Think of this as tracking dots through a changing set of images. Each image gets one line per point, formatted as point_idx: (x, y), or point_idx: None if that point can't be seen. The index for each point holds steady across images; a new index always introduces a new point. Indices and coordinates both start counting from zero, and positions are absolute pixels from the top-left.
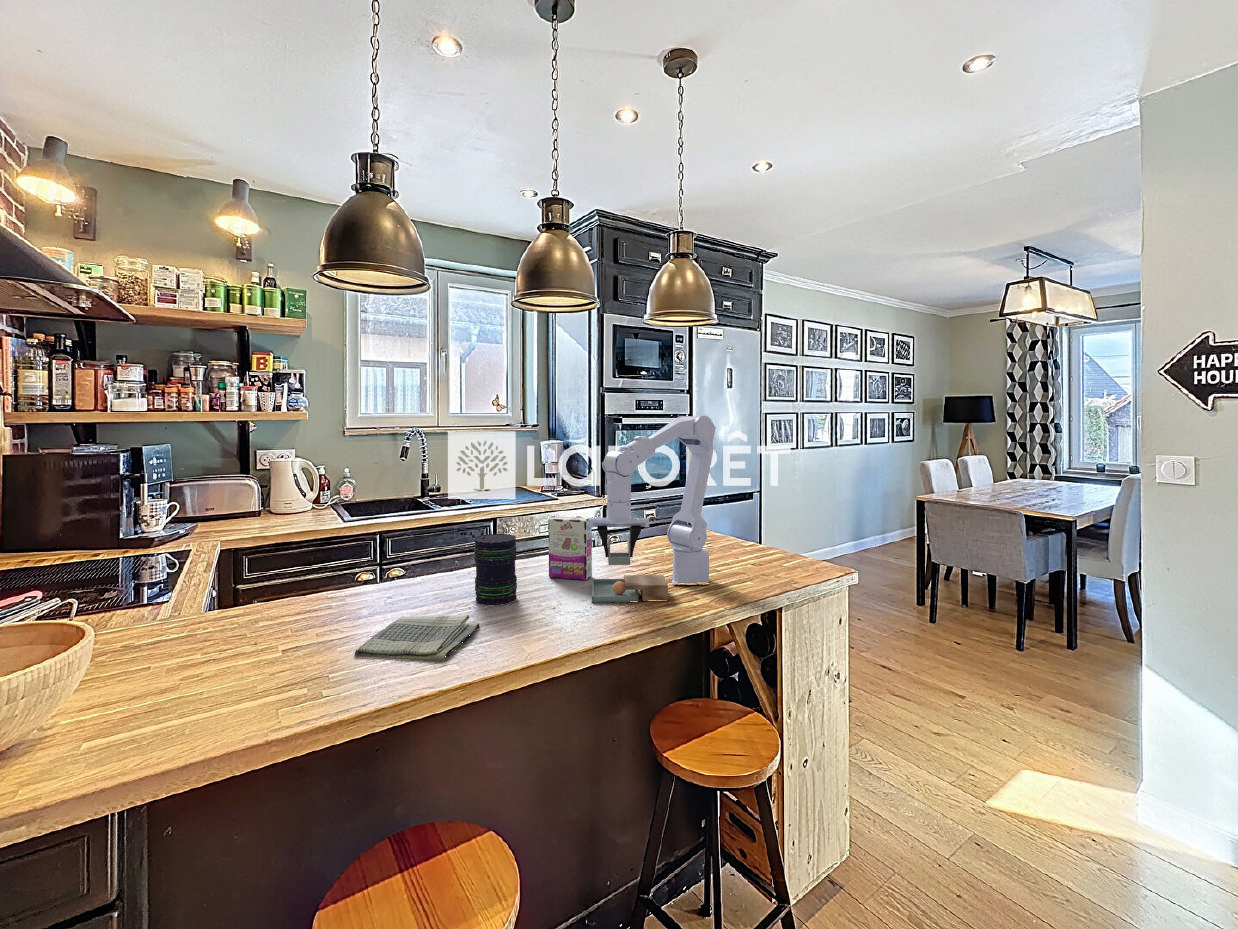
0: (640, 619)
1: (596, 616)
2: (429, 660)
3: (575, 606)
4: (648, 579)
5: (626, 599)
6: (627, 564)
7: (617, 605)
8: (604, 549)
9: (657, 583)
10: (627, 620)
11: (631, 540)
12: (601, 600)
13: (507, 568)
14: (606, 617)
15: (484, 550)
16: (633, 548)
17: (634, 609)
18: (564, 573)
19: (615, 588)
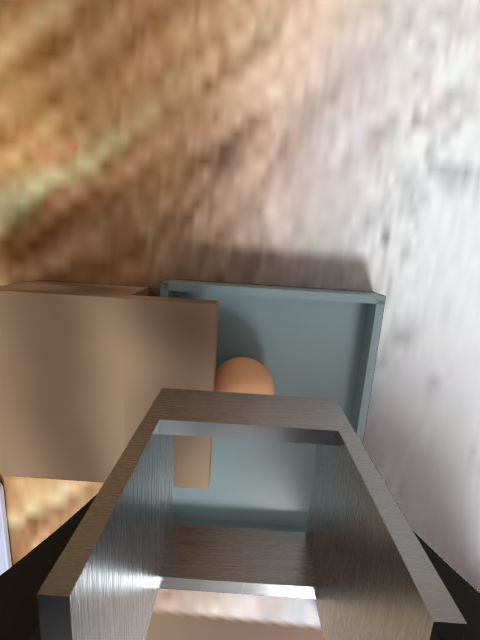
0: (180, 32)
1: (379, 100)
2: None
3: (452, 256)
4: (83, 405)
5: (219, 283)
6: (183, 390)
7: (264, 252)
8: (420, 538)
9: (37, 326)
10: (243, 23)
11: (28, 624)
12: (334, 291)
13: None
14: (335, 79)
15: None
16: (71, 520)
17: (194, 187)
18: None
19: (263, 368)
